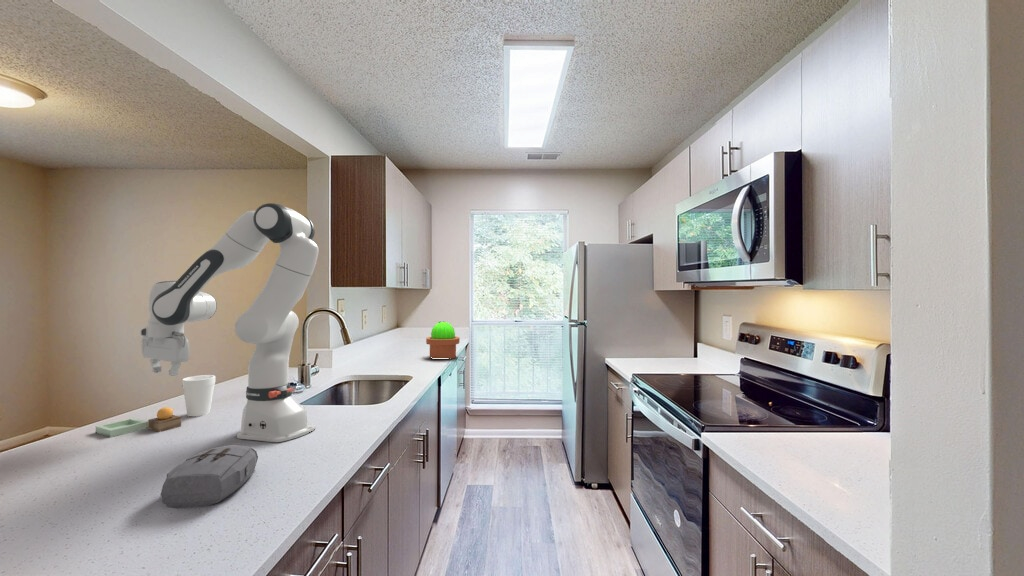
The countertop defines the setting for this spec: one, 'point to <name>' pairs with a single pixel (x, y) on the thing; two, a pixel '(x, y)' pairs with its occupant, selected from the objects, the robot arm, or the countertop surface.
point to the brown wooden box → (164, 423)
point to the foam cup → (198, 394)
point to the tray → (121, 427)
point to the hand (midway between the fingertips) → (164, 373)
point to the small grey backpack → (208, 476)
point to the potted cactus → (442, 341)
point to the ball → (164, 413)
